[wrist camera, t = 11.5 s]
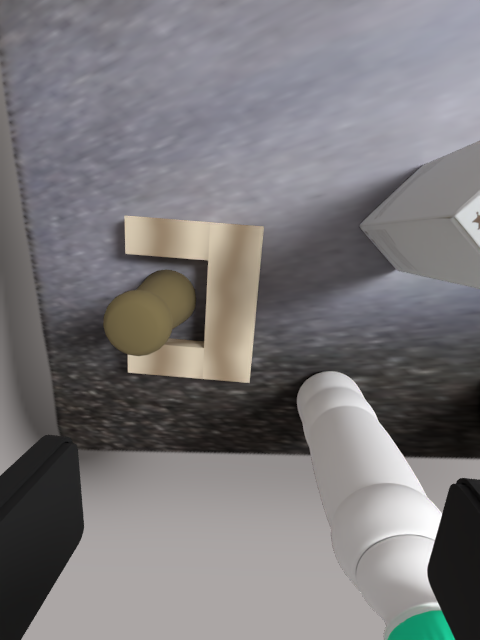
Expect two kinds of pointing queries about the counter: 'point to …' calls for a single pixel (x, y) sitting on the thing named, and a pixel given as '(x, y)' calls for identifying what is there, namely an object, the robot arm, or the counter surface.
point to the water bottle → (372, 507)
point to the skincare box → (434, 220)
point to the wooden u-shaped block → (222, 295)
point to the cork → (149, 313)
